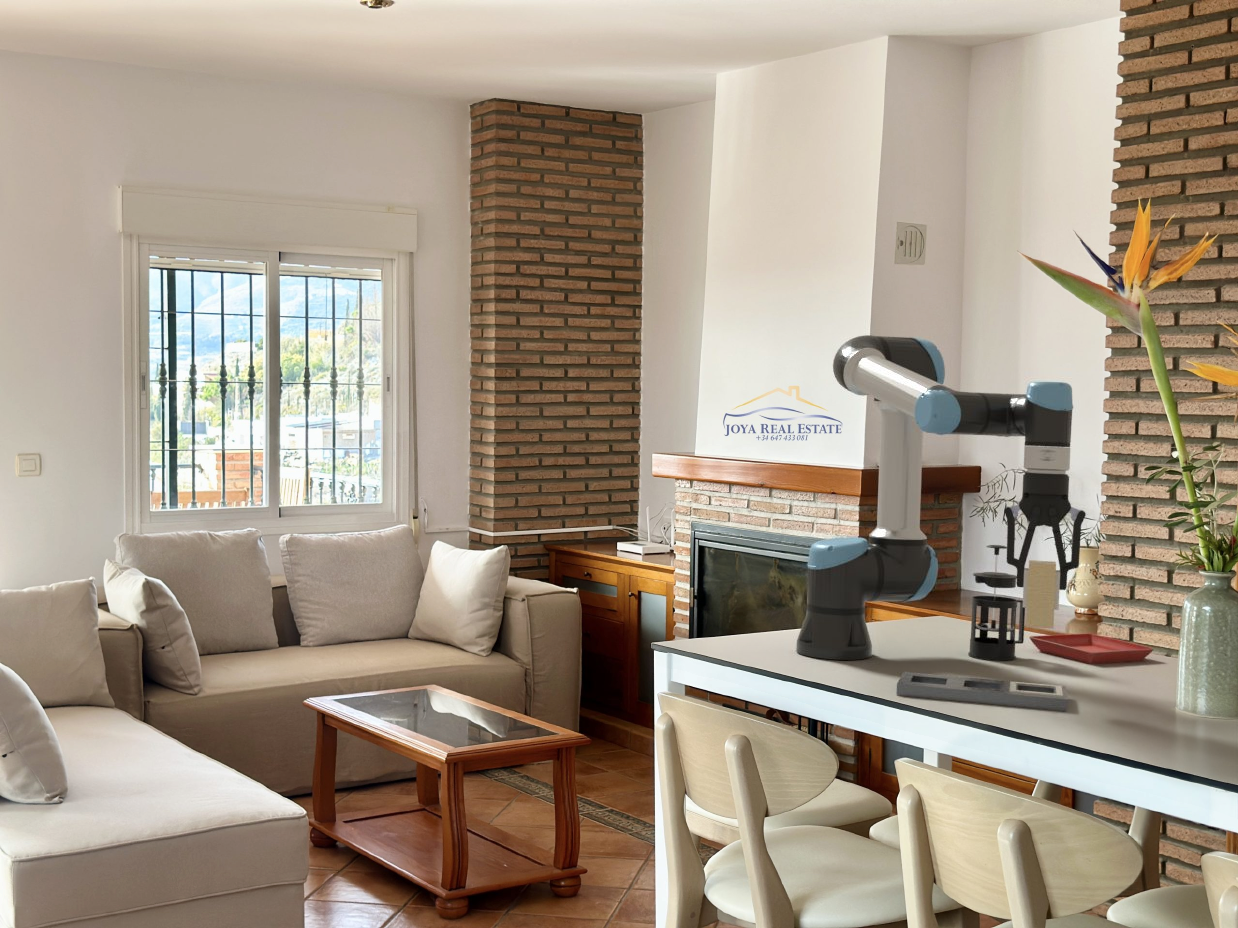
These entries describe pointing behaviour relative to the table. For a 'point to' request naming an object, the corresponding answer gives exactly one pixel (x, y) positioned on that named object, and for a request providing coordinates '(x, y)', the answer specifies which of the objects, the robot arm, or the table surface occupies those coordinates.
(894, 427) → the robot arm
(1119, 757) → the table surface
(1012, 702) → the grey flat slotted block
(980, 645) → the french press
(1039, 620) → the peg
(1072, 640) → the red serving tray
